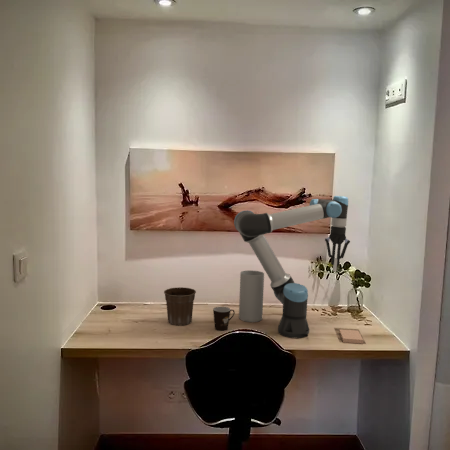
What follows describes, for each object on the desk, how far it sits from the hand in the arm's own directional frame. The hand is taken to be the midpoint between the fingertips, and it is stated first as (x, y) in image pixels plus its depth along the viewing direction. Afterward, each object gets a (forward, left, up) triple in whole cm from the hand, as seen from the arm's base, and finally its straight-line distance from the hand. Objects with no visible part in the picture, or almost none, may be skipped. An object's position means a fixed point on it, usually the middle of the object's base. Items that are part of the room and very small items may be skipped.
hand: (334, 270), depth 236 cm
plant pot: (-78, +16, -28) cm, 85 cm away
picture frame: (-1, -19, -26) cm, 32 cm away
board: (-2, -22, -28) cm, 35 cm away
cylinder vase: (-40, +14, -28) cm, 51 cm away
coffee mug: (-58, +2, -28) cm, 65 cm away
